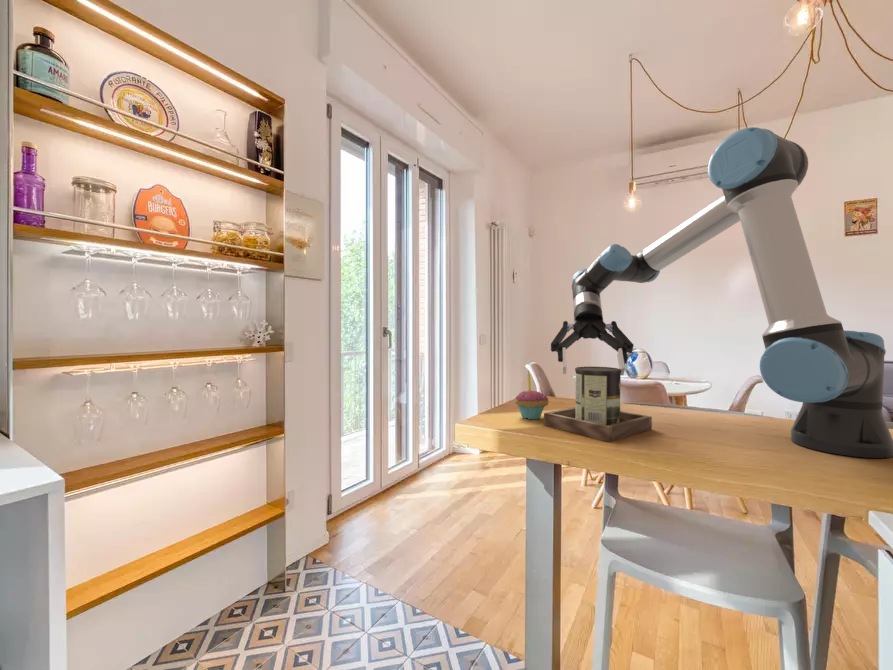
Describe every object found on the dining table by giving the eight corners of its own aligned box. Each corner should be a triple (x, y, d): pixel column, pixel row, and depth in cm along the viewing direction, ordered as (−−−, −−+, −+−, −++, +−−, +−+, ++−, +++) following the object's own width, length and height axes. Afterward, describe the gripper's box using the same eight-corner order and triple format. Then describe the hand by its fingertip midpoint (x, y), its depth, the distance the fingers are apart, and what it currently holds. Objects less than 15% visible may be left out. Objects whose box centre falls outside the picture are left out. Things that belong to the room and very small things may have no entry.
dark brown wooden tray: (651, 429, 97) (651, 416, 97) (608, 441, 87) (608, 427, 87) (587, 415, 111) (587, 404, 111) (543, 425, 101) (544, 412, 101)
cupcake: (509, 415, 112) (509, 370, 112) (537, 413, 115) (538, 369, 114) (524, 422, 104) (525, 374, 104) (554, 420, 106) (555, 373, 106)
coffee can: (610, 422, 104) (611, 366, 104) (627, 433, 94) (628, 371, 94) (569, 422, 105) (569, 366, 104) (581, 432, 94) (582, 370, 94)
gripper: (633, 321, 117) (645, 382, 103) (542, 321, 123) (541, 378, 109) (637, 301, 112) (650, 362, 97) (542, 302, 117) (541, 360, 103)
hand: (593, 371), depth 103 cm, fingers open, 13 cm apart
